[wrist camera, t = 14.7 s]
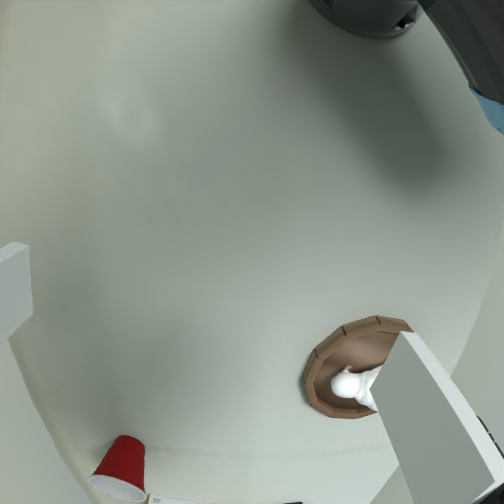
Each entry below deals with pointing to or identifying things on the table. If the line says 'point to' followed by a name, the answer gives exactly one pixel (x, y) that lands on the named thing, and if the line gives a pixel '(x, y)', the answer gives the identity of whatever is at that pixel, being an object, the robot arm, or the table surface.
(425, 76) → the table surface
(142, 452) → the plastic cup
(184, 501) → the packaging box
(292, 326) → the table surface
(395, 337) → the coaster
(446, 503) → the robot arm
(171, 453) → the table surface
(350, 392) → the white piece
